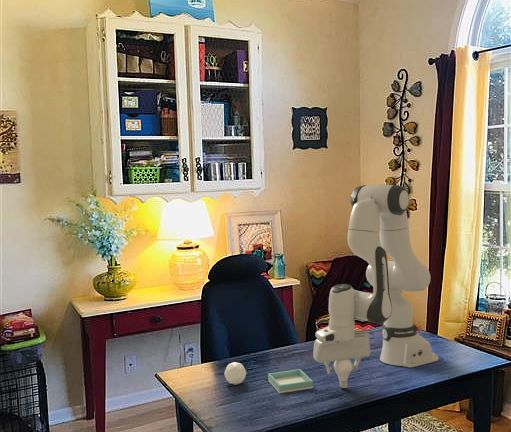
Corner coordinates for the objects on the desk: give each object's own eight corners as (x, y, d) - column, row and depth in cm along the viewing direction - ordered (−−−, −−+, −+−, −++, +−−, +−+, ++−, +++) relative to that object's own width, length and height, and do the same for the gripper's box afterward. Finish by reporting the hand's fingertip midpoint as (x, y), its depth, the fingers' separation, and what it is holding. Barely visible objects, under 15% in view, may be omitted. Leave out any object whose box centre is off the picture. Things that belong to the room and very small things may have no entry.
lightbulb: (343, 393, 196) (342, 361, 195) (330, 387, 201) (329, 357, 200) (356, 388, 199) (355, 357, 198) (343, 383, 204) (342, 352, 203)
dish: (300, 375, 213) (300, 369, 213) (313, 388, 201) (312, 380, 201) (268, 380, 209) (268, 373, 209) (279, 393, 197) (279, 385, 197)
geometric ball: (229, 391, 208) (217, 372, 210) (247, 378, 212) (234, 360, 213) (235, 387, 201) (222, 368, 203) (253, 374, 205) (240, 355, 207)
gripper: (365, 327, 204) (365, 365, 205) (311, 332, 198) (311, 372, 199) (373, 331, 198) (373, 370, 199) (318, 337, 192) (318, 378, 193)
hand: (342, 371), depth 199 cm, fingers open, 8 cm apart
